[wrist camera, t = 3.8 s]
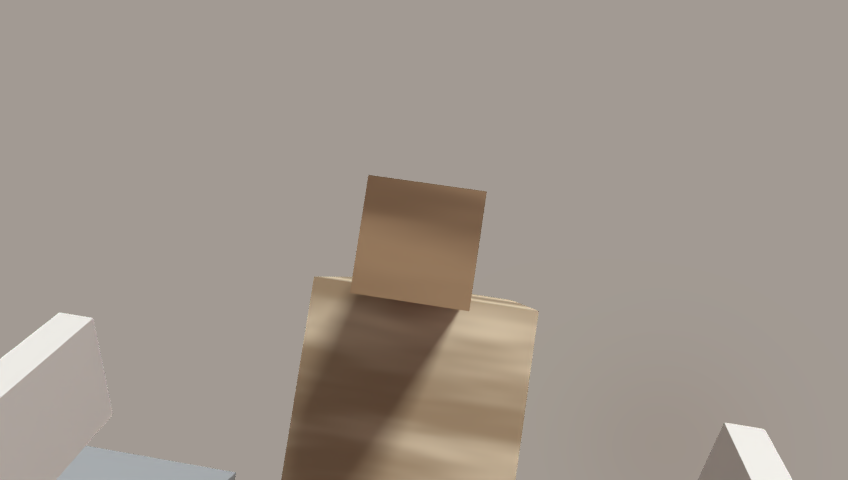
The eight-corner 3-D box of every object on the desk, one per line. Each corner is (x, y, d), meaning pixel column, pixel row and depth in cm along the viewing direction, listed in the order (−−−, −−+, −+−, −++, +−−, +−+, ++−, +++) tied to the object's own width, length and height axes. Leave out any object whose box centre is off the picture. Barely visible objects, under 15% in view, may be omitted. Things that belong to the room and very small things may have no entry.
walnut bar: (469, 311, 16) (486, 191, 16) (349, 292, 16) (368, 175, 17) (461, 291, 39) (469, 242, 39) (412, 284, 39) (419, 234, 39)
